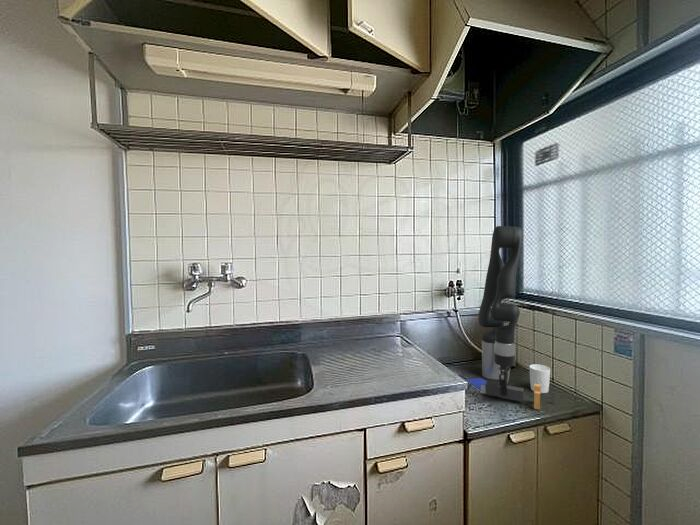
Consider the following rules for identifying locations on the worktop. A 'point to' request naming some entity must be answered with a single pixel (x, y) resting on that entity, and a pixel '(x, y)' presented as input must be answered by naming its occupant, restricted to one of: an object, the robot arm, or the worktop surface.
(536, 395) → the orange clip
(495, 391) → the gray rectangular block
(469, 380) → the hard drive
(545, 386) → the white cup
